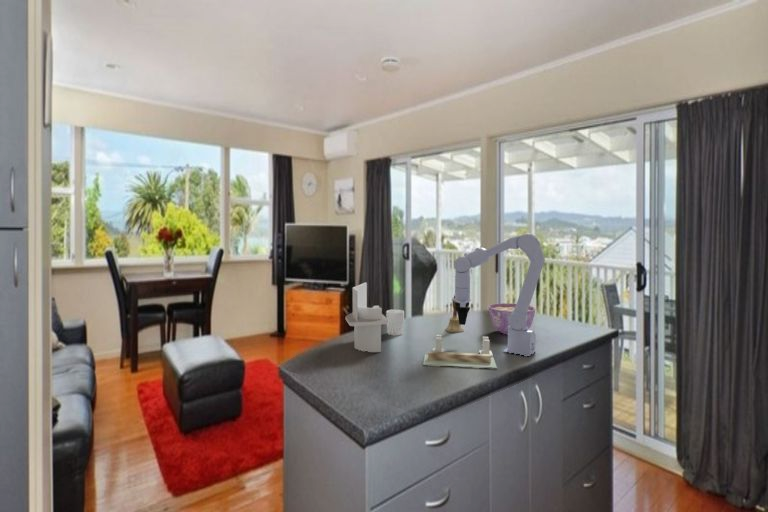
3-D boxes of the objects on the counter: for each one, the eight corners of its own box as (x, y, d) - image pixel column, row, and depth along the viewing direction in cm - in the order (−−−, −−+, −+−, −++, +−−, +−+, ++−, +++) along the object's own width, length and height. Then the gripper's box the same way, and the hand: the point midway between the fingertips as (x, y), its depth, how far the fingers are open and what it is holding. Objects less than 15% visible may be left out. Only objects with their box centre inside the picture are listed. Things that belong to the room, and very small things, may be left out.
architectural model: (401, 354, 153) (401, 290, 151) (344, 358, 148) (343, 292, 146) (384, 335, 180) (384, 281, 178) (335, 338, 175) (334, 283, 174)
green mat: (493, 359, 146) (493, 357, 146) (496, 369, 136) (496, 367, 135) (424, 355, 150) (424, 354, 150) (423, 365, 139) (423, 363, 139)
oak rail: (490, 361, 142) (490, 354, 142) (490, 363, 140) (490, 356, 140) (428, 358, 146) (428, 351, 145) (428, 360, 143) (428, 353, 143)
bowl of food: (486, 337, 177) (486, 310, 176) (488, 326, 196) (489, 302, 195) (536, 340, 171) (537, 312, 170) (534, 329, 190) (534, 304, 189)
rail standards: (491, 352, 154) (491, 336, 154) (492, 357, 148) (493, 341, 148) (433, 350, 157) (433, 334, 157) (432, 354, 151) (432, 338, 151)
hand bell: (462, 328, 192) (463, 294, 191) (464, 332, 184) (465, 297, 183) (444, 328, 193) (445, 293, 192) (445, 332, 185) (446, 296, 184)
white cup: (383, 332, 184) (383, 310, 183) (399, 330, 187) (399, 308, 187) (391, 336, 177) (391, 313, 176) (407, 334, 180) (407, 312, 180)
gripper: (451, 285, 169) (451, 318, 170) (452, 290, 155) (451, 326, 156) (469, 285, 168) (469, 318, 169) (471, 290, 154) (470, 326, 155)
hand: (462, 322), depth 162 cm, fingers open, 7 cm apart
